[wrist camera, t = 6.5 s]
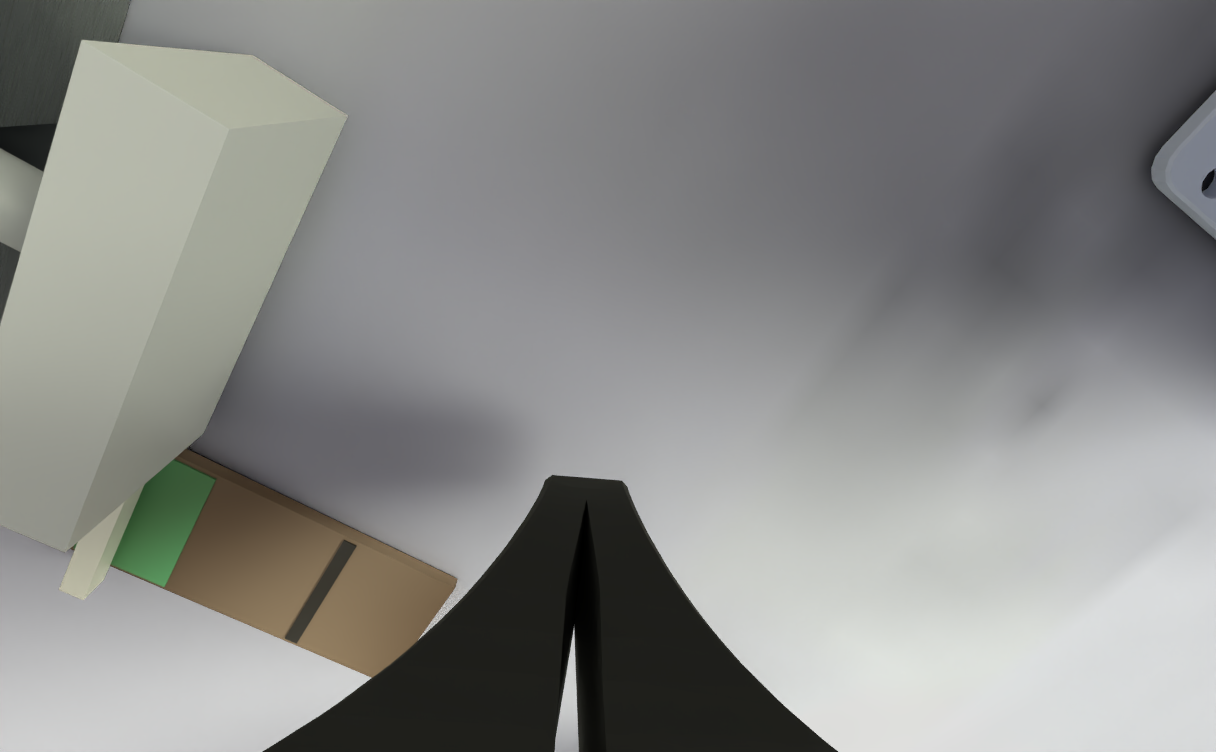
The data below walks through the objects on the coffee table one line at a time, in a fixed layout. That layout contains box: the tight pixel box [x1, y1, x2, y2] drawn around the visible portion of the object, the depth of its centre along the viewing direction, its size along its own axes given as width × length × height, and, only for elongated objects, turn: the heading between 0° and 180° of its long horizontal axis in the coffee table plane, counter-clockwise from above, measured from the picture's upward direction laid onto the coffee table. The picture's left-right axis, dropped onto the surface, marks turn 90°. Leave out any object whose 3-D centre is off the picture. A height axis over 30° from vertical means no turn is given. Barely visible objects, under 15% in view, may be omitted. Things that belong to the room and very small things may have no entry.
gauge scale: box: [70, 449, 457, 678], centre depth 14 cm, size 11×4×1 cm, turn 57°
